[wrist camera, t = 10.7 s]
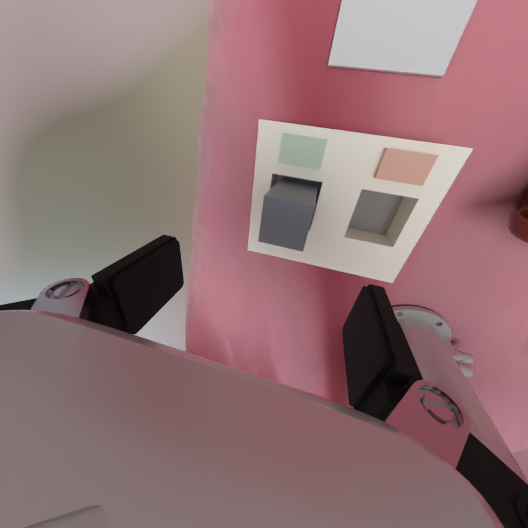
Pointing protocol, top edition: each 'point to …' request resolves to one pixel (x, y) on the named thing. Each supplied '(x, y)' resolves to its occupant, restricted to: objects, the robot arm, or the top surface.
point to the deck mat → (399, 35)
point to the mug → (520, 221)
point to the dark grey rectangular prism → (288, 213)
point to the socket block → (354, 194)
